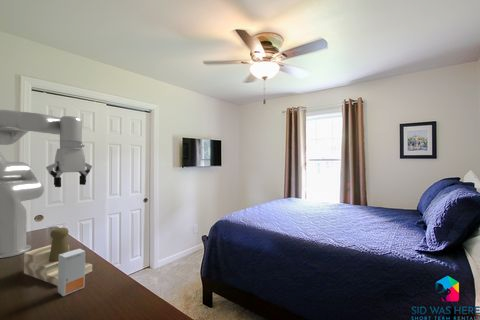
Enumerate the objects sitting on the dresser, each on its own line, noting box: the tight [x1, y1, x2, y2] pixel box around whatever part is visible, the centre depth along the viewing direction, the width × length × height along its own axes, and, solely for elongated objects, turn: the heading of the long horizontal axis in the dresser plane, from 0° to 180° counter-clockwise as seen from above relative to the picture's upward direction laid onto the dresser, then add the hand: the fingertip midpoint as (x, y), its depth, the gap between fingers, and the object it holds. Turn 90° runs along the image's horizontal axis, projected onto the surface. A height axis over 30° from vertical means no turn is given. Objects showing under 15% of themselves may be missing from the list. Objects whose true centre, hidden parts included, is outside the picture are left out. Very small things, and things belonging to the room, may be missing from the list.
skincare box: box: [57, 248, 86, 297], centre depth 71 cm, size 6×4×12 cm
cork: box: [49, 227, 70, 262], centre depth 83 cm, size 6×6×11 cm
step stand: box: [23, 244, 93, 287], centre depth 83 cm, size 21×11×8 cm, turn 67°
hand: (70, 185), depth 96 cm, fingers open, 9 cm apart
